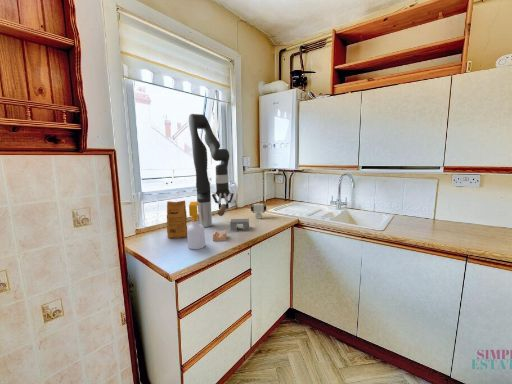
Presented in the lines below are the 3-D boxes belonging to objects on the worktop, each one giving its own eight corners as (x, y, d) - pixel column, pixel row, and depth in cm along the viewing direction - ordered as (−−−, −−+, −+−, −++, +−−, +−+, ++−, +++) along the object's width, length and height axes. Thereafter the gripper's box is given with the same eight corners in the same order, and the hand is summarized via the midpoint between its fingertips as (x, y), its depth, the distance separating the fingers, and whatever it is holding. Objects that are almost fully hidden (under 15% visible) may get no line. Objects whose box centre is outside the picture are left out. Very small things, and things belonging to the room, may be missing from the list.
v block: (225, 240, 134) (224, 233, 133) (212, 240, 134) (212, 234, 133) (226, 236, 141) (226, 230, 140) (214, 236, 141) (214, 230, 140)
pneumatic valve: (266, 218, 177) (266, 203, 175) (251, 219, 177) (250, 203, 175) (266, 216, 183) (265, 201, 181) (251, 217, 183) (250, 202, 181)
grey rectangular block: (249, 230, 151) (248, 221, 150) (230, 230, 151) (230, 222, 150) (249, 227, 158) (248, 218, 157) (231, 227, 158) (231, 219, 157)
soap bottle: (206, 242, 131) (204, 200, 127) (203, 249, 122) (200, 203, 118) (190, 243, 131) (187, 200, 127) (186, 250, 122) (182, 204, 118)
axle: (224, 215, 130) (223, 209, 130) (218, 216, 130) (217, 210, 130) (226, 209, 146) (226, 203, 146) (221, 209, 146) (220, 204, 146)
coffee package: (170, 233, 149) (167, 199, 145) (189, 232, 149) (187, 199, 146) (165, 239, 139) (162, 203, 135) (186, 238, 140) (183, 202, 136)
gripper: (234, 180, 146) (235, 207, 149) (211, 181, 146) (213, 208, 149) (233, 182, 139) (234, 210, 141) (209, 183, 138) (211, 211, 141)
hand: (223, 209), depth 145 cm, fingers closed on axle, 3 cm apart
